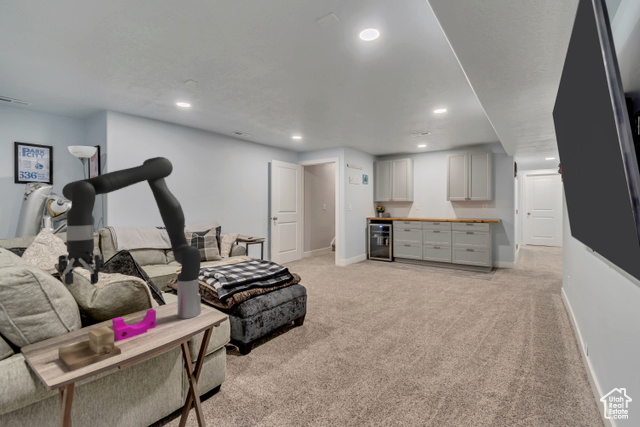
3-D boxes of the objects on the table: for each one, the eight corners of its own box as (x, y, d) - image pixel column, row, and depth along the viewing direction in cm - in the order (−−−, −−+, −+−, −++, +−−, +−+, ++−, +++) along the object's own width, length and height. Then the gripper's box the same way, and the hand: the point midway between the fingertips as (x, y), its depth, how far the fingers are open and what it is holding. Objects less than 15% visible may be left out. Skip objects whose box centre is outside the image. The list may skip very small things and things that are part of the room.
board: (106, 343, 112) (106, 333, 112) (121, 353, 105) (120, 342, 104) (58, 359, 101) (58, 347, 101) (70, 371, 93) (70, 358, 93)
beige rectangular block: (105, 342, 110) (105, 326, 110) (117, 350, 104) (117, 333, 104) (89, 347, 106) (88, 330, 106) (100, 356, 100) (100, 338, 100)
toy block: (118, 341, 114) (118, 322, 114) (112, 337, 118) (112, 319, 118) (158, 329, 126) (158, 311, 126) (152, 325, 130) (152, 308, 130)
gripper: (108, 237, 108) (109, 281, 108) (69, 237, 108) (70, 281, 108) (92, 239, 100) (94, 286, 101) (50, 239, 100) (52, 287, 101)
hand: (81, 284), depth 105 cm, fingers open, 8 cm apart
